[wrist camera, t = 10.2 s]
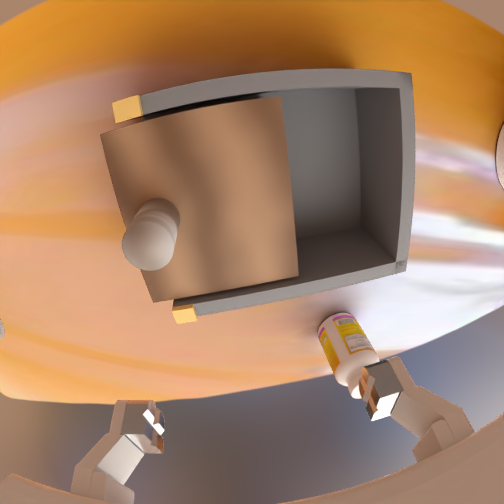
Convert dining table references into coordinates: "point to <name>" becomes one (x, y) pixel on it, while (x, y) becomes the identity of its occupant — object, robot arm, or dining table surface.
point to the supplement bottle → (346, 349)
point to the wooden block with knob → (206, 198)
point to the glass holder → (1, 329)
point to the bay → (320, 173)
